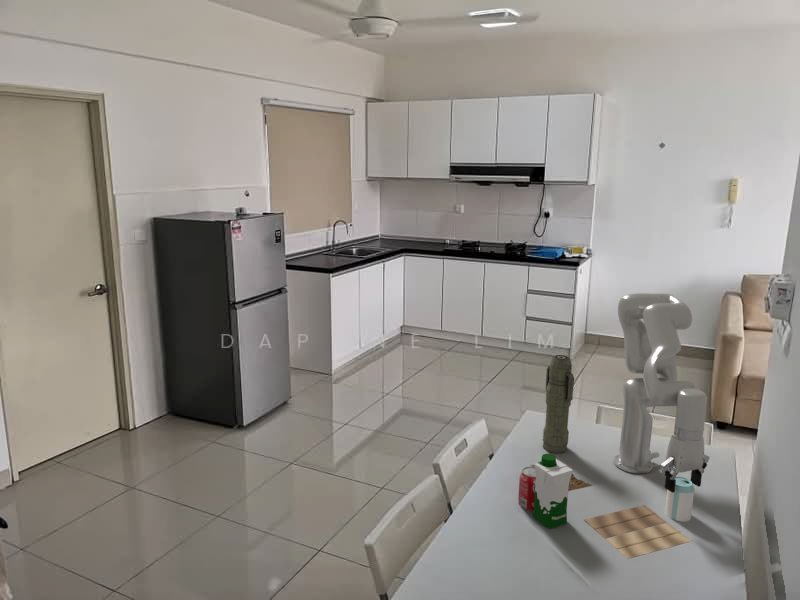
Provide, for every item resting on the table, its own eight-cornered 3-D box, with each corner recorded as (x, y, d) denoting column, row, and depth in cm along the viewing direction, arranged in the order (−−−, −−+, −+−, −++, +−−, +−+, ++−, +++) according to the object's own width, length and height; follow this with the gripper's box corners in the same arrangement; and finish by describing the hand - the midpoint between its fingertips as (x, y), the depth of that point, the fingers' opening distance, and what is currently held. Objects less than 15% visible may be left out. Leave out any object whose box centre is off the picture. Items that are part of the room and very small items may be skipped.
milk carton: (550, 511, 183) (555, 450, 178) (572, 527, 175) (577, 463, 170) (527, 518, 179) (531, 456, 174) (548, 535, 171) (552, 470, 166)
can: (670, 508, 185) (674, 472, 182) (694, 518, 180) (699, 481, 177) (660, 517, 180) (664, 481, 177) (684, 528, 175) (689, 490, 172)
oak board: (667, 526, 176) (667, 522, 175) (691, 544, 167) (692, 540, 167) (605, 542, 168) (605, 538, 168) (627, 562, 160) (628, 558, 159)
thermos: (560, 457, 215) (567, 364, 207) (534, 445, 224) (540, 355, 216) (575, 450, 221) (583, 359, 212) (549, 438, 230) (556, 350, 222)
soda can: (543, 504, 186) (546, 468, 184) (538, 516, 180) (541, 479, 177) (521, 498, 189) (523, 463, 187) (515, 510, 183) (517, 474, 180)
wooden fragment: (606, 493, 193) (606, 490, 193) (583, 504, 187) (583, 501, 187) (544, 460, 214) (545, 457, 214) (522, 469, 208) (522, 466, 208)
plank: (644, 508, 184) (644, 504, 184) (666, 525, 176) (666, 521, 176) (583, 523, 176) (584, 519, 176) (604, 542, 168) (604, 537, 168)
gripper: (700, 423, 180) (694, 476, 183) (654, 431, 174) (649, 486, 177) (722, 433, 173) (715, 488, 176) (675, 442, 167) (669, 499, 170)
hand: (682, 487), depth 177 cm, fingers open, 9 cm apart
